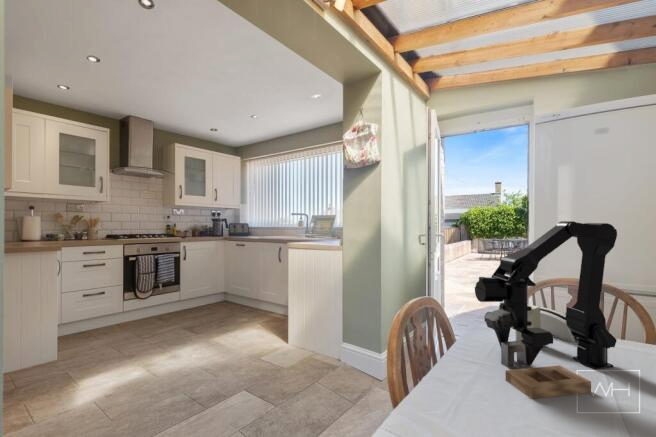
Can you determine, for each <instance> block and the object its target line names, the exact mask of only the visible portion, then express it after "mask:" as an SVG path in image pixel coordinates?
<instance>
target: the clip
mask: <svg viewBox="0 0 656 437" xmlns="http://www.w3.org/2000/svg"><path fill="white" fill-rule="evenodd" d="M515 353H516V363H518V364H520V365H521V366H523V367H528V366H529V367H530V366H531V365H527V362H526V351H525V345H524V344H523V343H522V342H521V341H516V340H515V341H514V340H512V341H511V340H510V341H508V342H501V347H500V363H501V365H502V366H504V367H506V368H515Z"/></svg>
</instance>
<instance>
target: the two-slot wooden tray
mask: <svg viewBox="0 0 656 437" xmlns="http://www.w3.org/2000/svg"><path fill="white" fill-rule="evenodd" d="M505 381H506V382H507V383H509V384H510V385H511V386H512V387H514V388H515V389H517V390H518V391H520V392H521V393H523V394H524V395H526V396H527V397H529V398H530V399H531V400H532V399H533V400H534V399H541V398H549V397H558V396H559V397H560V396H567V395H568V396H569V395H576V394H585V393H586V394H587V393H591V392H592V381H591V380H590V379H588V378H586V377H583V376H582V375H580V374H577V373H575V371H572V370H570V369H568V368H566V367H564V366H562V365H560V364H559V365H550V366H538V367H529V368H517V369H507V370H506V369H505Z"/></svg>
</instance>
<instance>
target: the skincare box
mask: <svg viewBox="0 0 656 437" xmlns="http://www.w3.org/2000/svg"><path fill="white" fill-rule="evenodd" d="M528 306H530V307H531V311H528V321H531V322H532V326H527V328H538V327H539V328H541V318H540V307H541V306H538V305H533V304H528ZM521 340H523V338H522V336H521V332H519V331H517V330H515V341H521Z"/></svg>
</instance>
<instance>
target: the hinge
mask: <svg viewBox="0 0 656 437" xmlns="http://www.w3.org/2000/svg"><path fill="white" fill-rule="evenodd" d="M539 307H540V318H541V329H544V330H546V331H549V332H550V333H551V334H552V335H553V337H556V338H559V339H561V340H565V341H568V342H571V343H575V342H576V340H578V339H579V338H578V337H575V336H573V335H572V333H571V330H570V329H569V327H568V326H567V323H566V320H564V319H565V317H566V314H564V313H562V312H559V311H558V310H554V309H550V308H548V307H543V306H539Z"/></svg>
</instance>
